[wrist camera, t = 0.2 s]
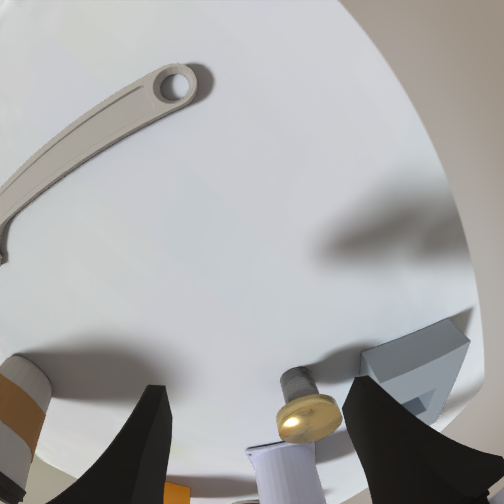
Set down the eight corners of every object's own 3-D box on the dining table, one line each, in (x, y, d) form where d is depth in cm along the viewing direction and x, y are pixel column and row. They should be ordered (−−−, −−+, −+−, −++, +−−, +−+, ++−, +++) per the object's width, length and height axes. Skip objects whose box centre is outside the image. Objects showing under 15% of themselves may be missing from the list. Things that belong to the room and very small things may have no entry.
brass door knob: (323, 387, 24) (341, 433, 19) (272, 400, 24) (283, 448, 19) (321, 352, 22) (343, 402, 17) (264, 366, 22) (275, 420, 17)
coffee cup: (14, 334, 19) (-58, 450, 5) (74, 392, 22) (34, 516, 8) (-7, 360, 20) (-60, 453, 6) (44, 408, 23) (8, 506, 9)
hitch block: (422, 400, 28) (435, 421, 24) (353, 429, 28) (363, 454, 24) (447, 317, 23) (470, 340, 19) (361, 351, 22) (379, 383, 19)
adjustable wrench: (190, 61, 14) (187, 52, 12) (224, 156, 16) (224, 158, 15) (-47, 219, 14) (-59, 225, 13) (-22, 280, 17) (-32, 289, 15)
